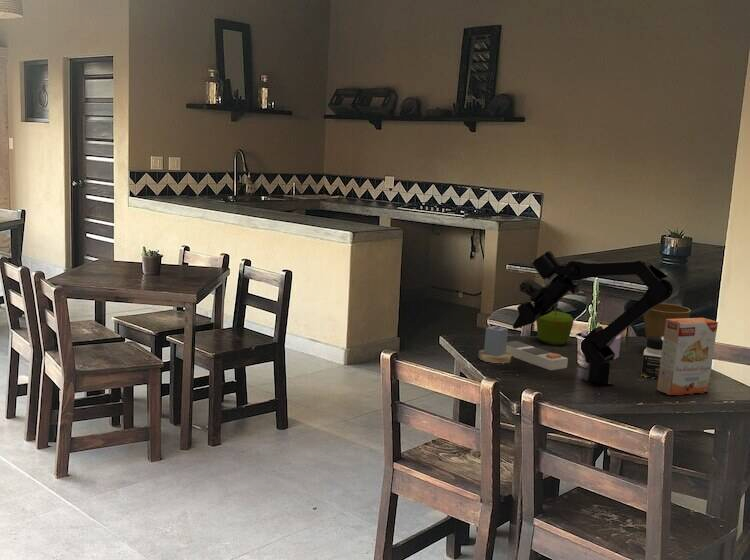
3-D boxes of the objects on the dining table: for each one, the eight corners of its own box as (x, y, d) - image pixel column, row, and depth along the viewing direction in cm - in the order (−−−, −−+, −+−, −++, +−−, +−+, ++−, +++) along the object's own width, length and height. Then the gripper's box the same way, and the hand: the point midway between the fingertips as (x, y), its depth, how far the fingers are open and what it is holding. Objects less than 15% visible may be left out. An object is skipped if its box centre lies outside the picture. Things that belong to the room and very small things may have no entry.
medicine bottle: (640, 376, 239) (645, 337, 237) (641, 371, 245) (646, 332, 243) (666, 380, 236) (670, 341, 234) (666, 374, 243) (671, 336, 241)
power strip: (566, 367, 244) (568, 355, 243) (550, 370, 240) (551, 358, 240) (516, 350, 262) (517, 338, 262) (500, 352, 258) (501, 340, 258)
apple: (538, 336, 284) (541, 305, 282) (573, 341, 279) (576, 309, 277) (531, 343, 272) (534, 311, 270) (567, 349, 268) (570, 316, 266)
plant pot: (640, 346, 278) (645, 301, 275) (686, 353, 272) (692, 306, 269) (635, 355, 264) (640, 307, 262) (683, 362, 258) (689, 314, 256)
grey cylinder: (505, 353, 249) (508, 328, 248) (498, 356, 245) (500, 330, 244) (491, 350, 252) (493, 325, 250) (483, 353, 248) (485, 328, 246)
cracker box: (671, 397, 220) (680, 323, 216) (655, 390, 225) (664, 318, 222) (709, 393, 225) (719, 321, 222) (693, 387, 231) (702, 316, 227)
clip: (581, 344, 277) (583, 324, 275) (618, 348, 273) (620, 328, 272) (578, 357, 258) (580, 336, 257) (618, 362, 254) (621, 341, 253)
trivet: (515, 364, 245) (516, 357, 245) (485, 364, 243) (485, 358, 242) (503, 355, 255) (503, 349, 254) (473, 355, 252) (474, 349, 252)
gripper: (548, 265, 245) (514, 297, 253) (523, 277, 229) (489, 310, 238) (572, 292, 242) (538, 324, 250) (549, 306, 227) (513, 339, 235)
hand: (519, 324), depth 243 cm, fingers open, 9 cm apart
